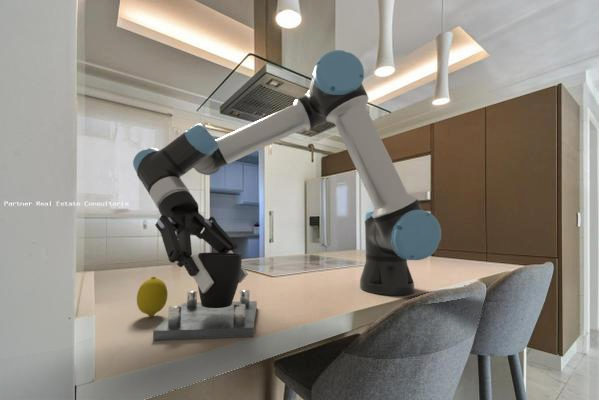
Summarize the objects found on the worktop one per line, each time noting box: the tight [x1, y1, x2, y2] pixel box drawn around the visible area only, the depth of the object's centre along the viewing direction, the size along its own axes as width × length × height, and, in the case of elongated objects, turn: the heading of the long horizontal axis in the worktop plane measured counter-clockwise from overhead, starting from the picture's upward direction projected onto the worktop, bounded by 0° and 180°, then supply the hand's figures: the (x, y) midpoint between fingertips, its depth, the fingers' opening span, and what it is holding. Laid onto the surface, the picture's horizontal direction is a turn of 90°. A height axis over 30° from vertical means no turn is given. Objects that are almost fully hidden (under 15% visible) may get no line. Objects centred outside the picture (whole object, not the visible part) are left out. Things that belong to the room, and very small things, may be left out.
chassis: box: [152, 288, 258, 341], centre depth 54 cm, size 16×16×4 cm
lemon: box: [136, 276, 168, 318], centre depth 57 cm, size 6×6×8 cm
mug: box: [197, 252, 243, 308], centre depth 55 cm, size 8×12×10 cm
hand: (227, 282), depth 53 cm, fingers closed on mug, 9 cm apart
